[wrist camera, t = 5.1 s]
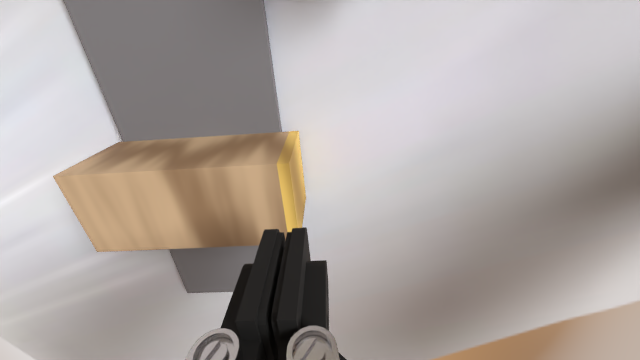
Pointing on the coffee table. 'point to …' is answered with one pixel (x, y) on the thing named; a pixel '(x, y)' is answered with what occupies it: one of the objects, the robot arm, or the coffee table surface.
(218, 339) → the robot arm
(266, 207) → the oak block
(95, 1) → the mat
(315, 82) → the coffee table surface
